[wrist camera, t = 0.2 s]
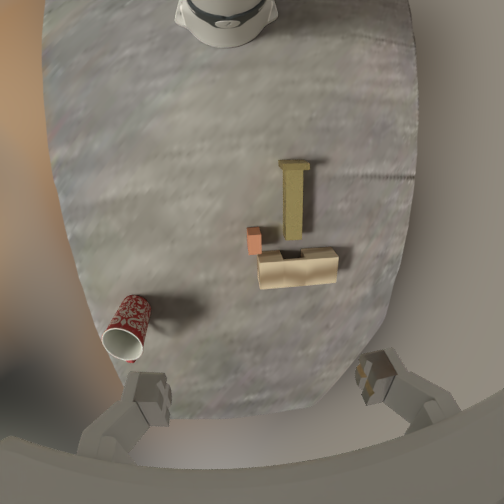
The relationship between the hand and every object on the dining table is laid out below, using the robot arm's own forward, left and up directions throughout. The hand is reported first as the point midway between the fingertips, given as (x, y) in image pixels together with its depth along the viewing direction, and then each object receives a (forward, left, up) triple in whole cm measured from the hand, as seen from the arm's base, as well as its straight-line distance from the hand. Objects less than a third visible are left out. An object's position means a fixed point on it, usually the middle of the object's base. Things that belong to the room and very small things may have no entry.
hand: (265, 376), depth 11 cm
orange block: (+14, +3, -47) cm, 49 cm away
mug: (+31, -25, -48) cm, 62 cm away
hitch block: (+20, +12, -47) cm, 53 cm away
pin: (+7, +11, -47) cm, 49 cm away
